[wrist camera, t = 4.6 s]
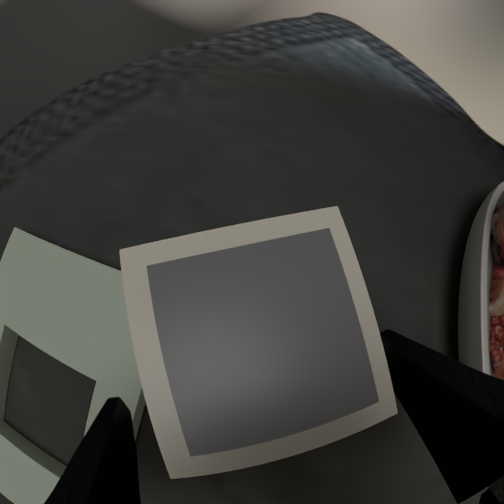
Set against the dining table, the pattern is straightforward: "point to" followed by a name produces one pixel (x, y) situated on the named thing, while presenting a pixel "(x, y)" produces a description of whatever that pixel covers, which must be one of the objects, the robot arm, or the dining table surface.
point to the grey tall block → (254, 342)
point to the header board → (61, 345)
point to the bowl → (483, 290)
